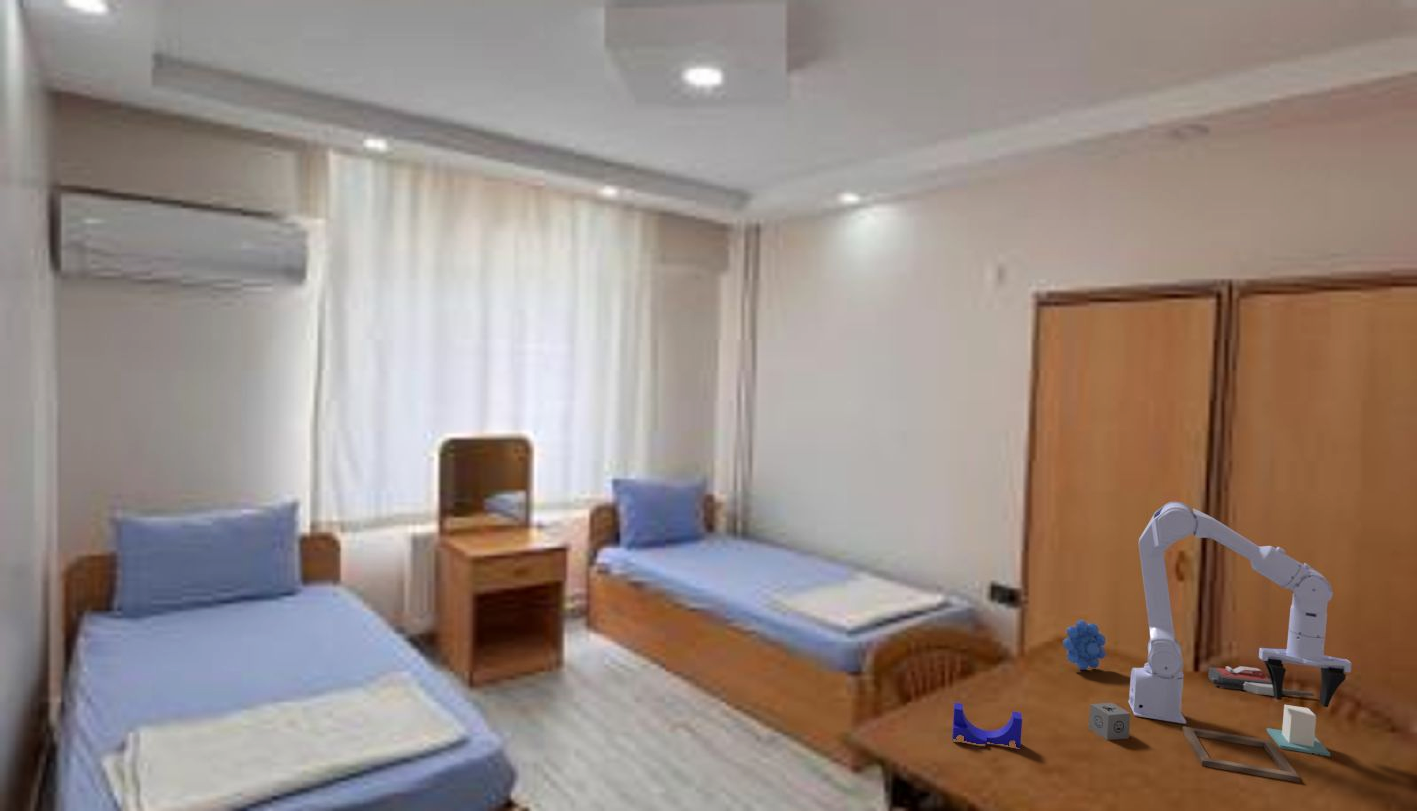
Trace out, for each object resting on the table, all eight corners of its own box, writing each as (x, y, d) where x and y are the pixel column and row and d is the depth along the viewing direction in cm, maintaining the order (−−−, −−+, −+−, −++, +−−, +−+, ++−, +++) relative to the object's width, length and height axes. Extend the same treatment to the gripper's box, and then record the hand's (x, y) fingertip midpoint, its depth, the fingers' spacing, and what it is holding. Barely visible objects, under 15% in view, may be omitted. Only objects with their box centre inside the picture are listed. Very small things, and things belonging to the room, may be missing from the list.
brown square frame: (1201, 765, 146) (1202, 760, 146) (1182, 730, 160) (1182, 726, 160) (1299, 782, 142) (1299, 777, 141) (1270, 745, 156) (1270, 740, 156)
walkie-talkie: (1217, 691, 183) (1315, 702, 179) (1218, 672, 183) (1317, 683, 179) (1201, 677, 192) (1294, 687, 188) (1202, 659, 191) (1296, 668, 188)
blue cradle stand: (952, 742, 151) (954, 711, 151) (952, 732, 156) (954, 702, 155) (1020, 754, 148) (1022, 722, 148) (1018, 743, 152) (1020, 712, 152)
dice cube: (1088, 728, 160) (1090, 703, 160) (1110, 726, 161) (1111, 702, 161) (1106, 740, 155) (1108, 714, 155) (1128, 738, 156) (1130, 713, 156)
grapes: (1074, 678, 186) (1078, 627, 186) (1055, 667, 193) (1058, 617, 192) (1116, 675, 189) (1120, 625, 189) (1096, 664, 196) (1099, 616, 195)
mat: (1280, 748, 155) (1280, 745, 155) (1266, 730, 162) (1266, 727, 162) (1330, 756, 152) (1330, 753, 152) (1313, 738, 160) (1313, 735, 160)
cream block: (1289, 742, 156) (1291, 712, 156) (1281, 734, 160) (1284, 704, 159) (1313, 746, 155) (1316, 716, 154) (1305, 737, 158) (1308, 708, 158)
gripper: (1269, 633, 155) (1263, 702, 155) (1360, 645, 150) (1354, 716, 151) (1257, 622, 161) (1252, 689, 162) (1344, 633, 157) (1338, 702, 157)
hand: (1300, 701), depth 157 cm, fingers open, 7 cm apart
